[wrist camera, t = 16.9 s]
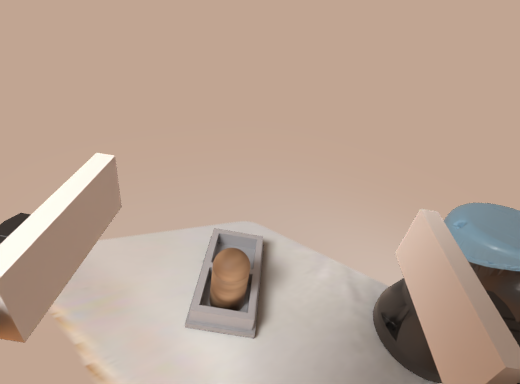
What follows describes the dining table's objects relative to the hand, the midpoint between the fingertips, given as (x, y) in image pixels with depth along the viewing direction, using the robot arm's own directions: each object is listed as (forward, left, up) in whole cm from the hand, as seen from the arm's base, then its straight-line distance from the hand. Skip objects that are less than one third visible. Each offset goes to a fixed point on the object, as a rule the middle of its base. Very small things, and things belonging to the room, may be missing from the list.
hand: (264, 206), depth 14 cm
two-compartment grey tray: (+13, -19, -34) cm, 41 cm away
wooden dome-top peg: (+11, -15, -33) cm, 38 cm away
